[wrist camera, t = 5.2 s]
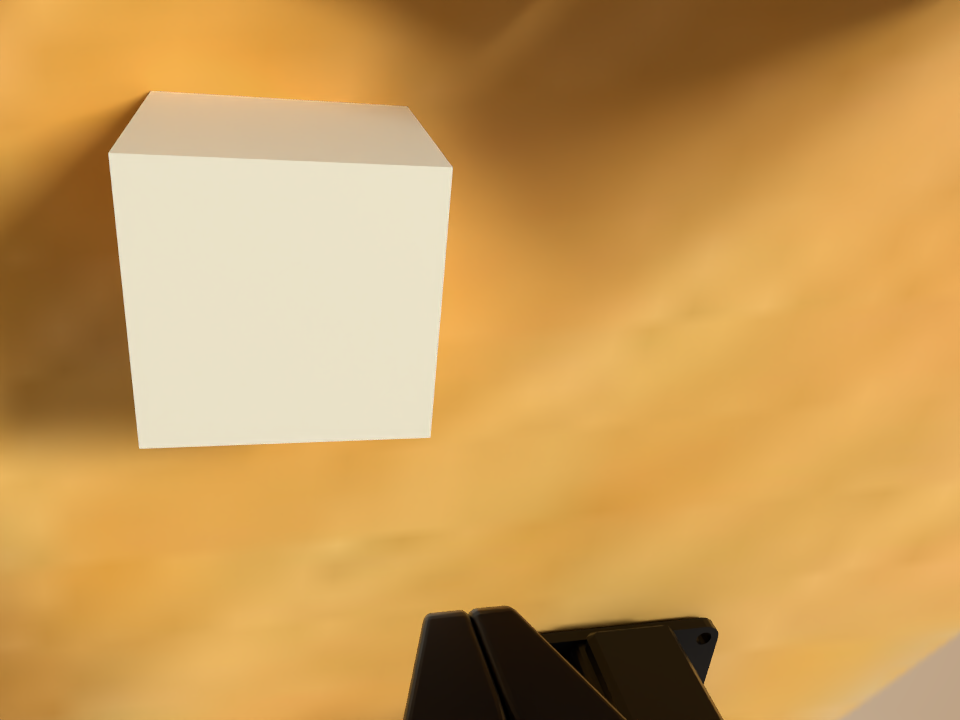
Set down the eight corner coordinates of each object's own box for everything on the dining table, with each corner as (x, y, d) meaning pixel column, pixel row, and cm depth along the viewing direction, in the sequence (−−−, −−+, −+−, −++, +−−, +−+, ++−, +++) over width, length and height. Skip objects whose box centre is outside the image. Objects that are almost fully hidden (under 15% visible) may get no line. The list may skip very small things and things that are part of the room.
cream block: (394, 323, 19) (430, 437, 15) (169, 323, 18) (139, 448, 14) (406, 105, 17) (452, 167, 13) (151, 90, 16) (108, 152, 12)
